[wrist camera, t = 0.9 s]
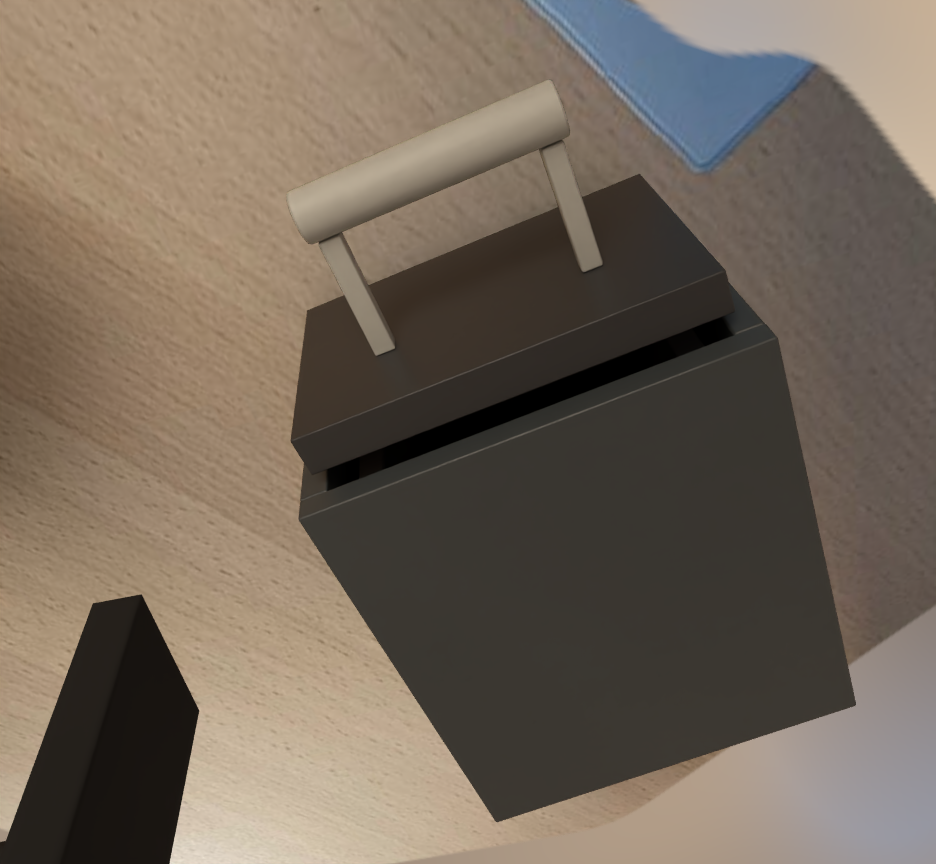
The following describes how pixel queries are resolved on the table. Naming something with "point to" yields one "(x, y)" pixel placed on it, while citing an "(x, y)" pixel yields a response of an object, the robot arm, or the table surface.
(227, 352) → the table surface
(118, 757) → the robot arm
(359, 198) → the drawer
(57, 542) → the table surface
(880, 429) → the table surface
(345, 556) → the cabinet
